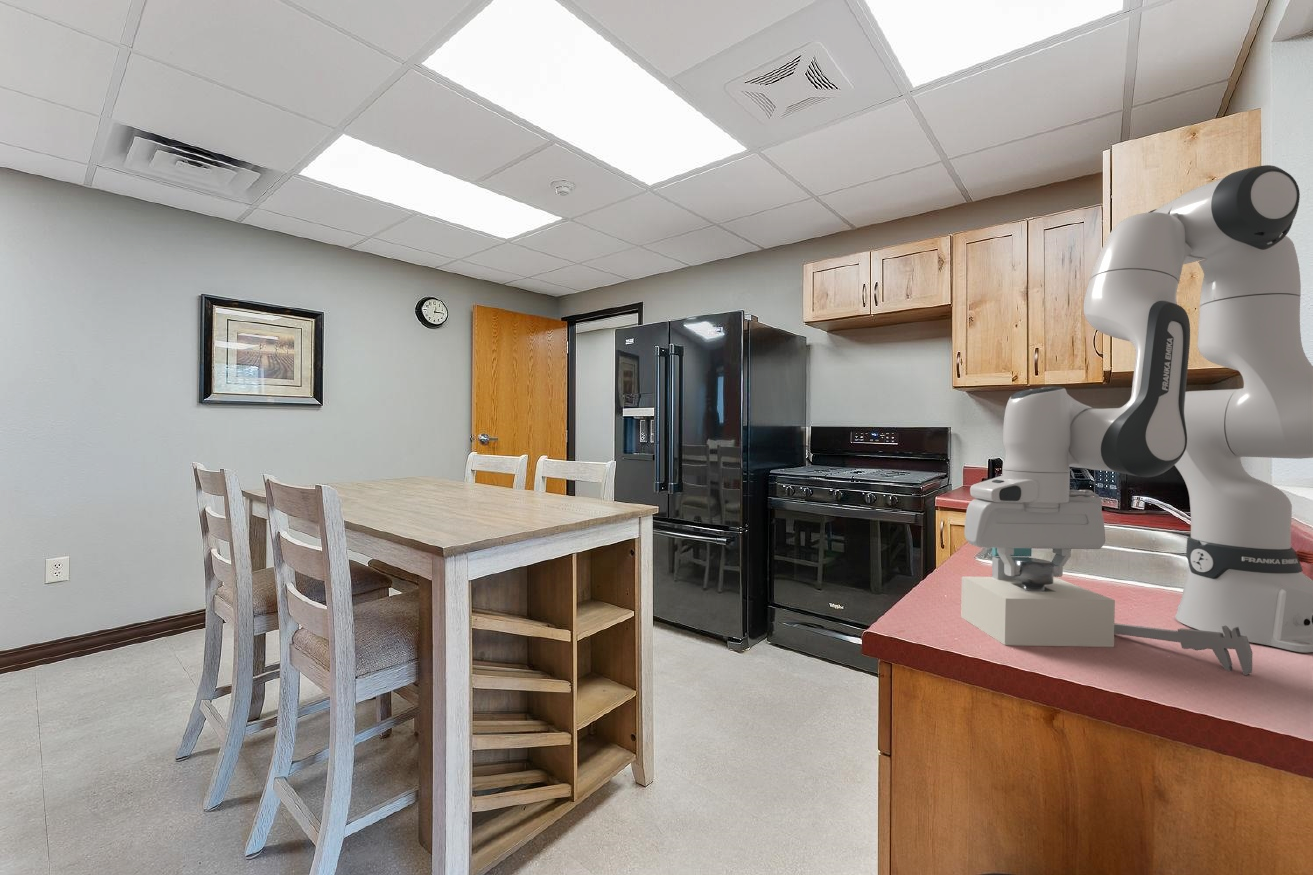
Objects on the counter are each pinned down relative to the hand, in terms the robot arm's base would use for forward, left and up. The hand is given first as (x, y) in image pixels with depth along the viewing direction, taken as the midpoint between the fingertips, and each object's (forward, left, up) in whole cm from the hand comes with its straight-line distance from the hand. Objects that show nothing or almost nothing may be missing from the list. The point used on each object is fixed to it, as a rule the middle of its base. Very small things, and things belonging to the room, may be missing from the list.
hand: (1032, 575), depth 87 cm
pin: (0, 0, -7) cm, 7 cm away
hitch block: (0, 0, -9) cm, 9 cm away
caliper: (-14, +6, -9) cm, 18 cm away
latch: (0, -5, +6) cm, 8 cm away
